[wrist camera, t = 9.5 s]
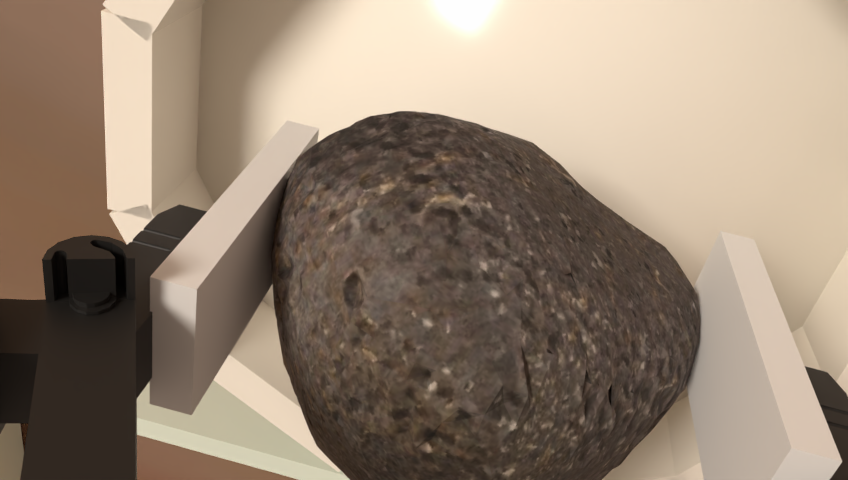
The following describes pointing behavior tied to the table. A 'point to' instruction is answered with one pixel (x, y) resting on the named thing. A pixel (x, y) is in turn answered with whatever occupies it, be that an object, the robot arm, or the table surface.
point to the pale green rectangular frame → (205, 437)
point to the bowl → (515, 132)
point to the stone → (470, 308)
